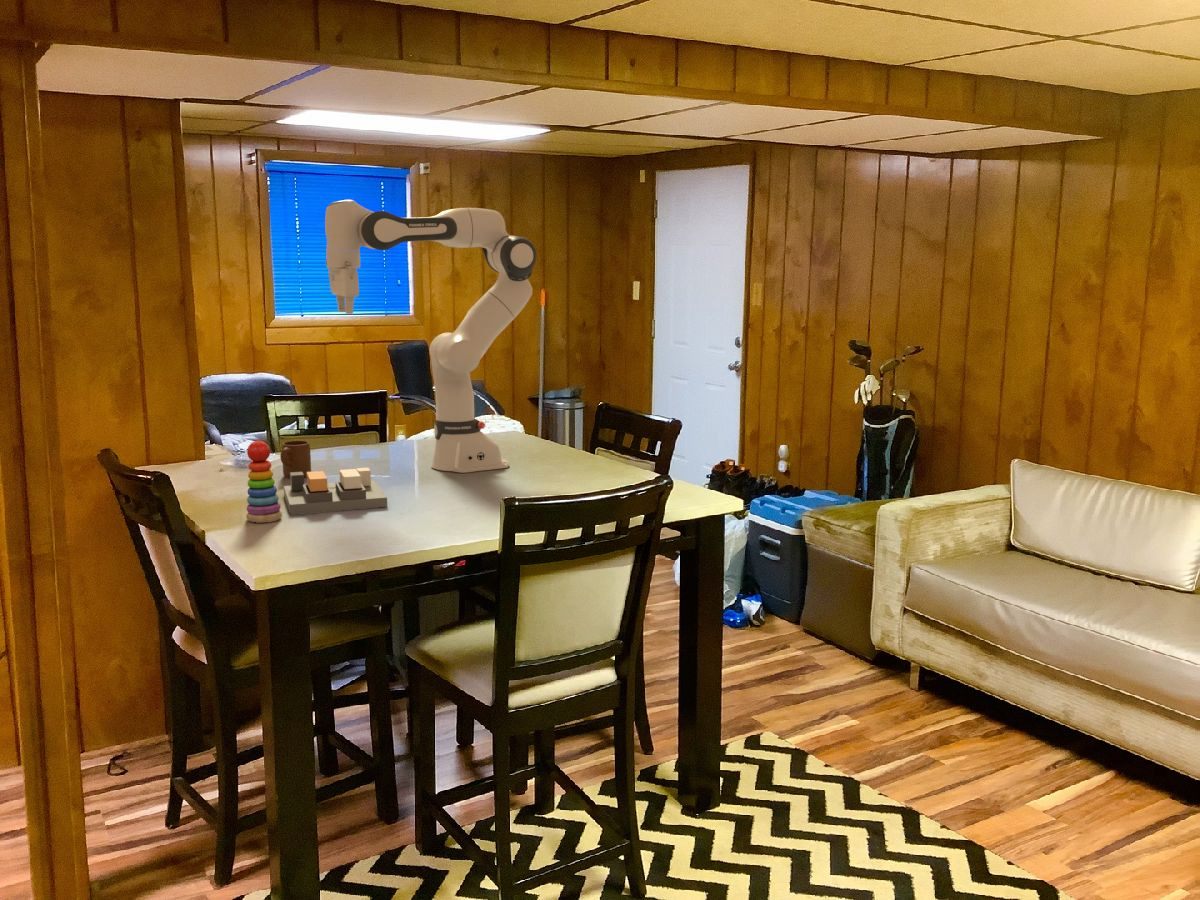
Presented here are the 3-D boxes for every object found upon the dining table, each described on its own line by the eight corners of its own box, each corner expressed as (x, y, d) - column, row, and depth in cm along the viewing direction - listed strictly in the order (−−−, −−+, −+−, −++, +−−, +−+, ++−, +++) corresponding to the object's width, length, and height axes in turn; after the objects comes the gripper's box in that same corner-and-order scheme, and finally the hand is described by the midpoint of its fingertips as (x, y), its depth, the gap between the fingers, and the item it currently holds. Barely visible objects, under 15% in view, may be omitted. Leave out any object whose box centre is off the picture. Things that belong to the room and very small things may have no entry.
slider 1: (303, 486, 259) (302, 471, 258) (304, 490, 255) (303, 474, 254) (290, 487, 257) (290, 472, 257) (292, 491, 254) (291, 475, 253)
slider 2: (368, 482, 264) (368, 467, 264) (370, 485, 261) (370, 470, 260) (356, 483, 263) (356, 468, 263) (359, 486, 260) (358, 471, 259)
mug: (296, 482, 276) (294, 448, 274) (270, 481, 277) (268, 447, 275) (316, 473, 287) (314, 441, 286) (291, 472, 289) (289, 440, 287)
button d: (356, 480, 257) (355, 468, 256) (361, 488, 248) (360, 476, 248) (339, 481, 255) (339, 469, 255) (344, 489, 247) (343, 477, 246)
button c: (323, 482, 254) (323, 470, 253) (327, 490, 246) (327, 478, 245) (307, 483, 252) (306, 471, 252) (310, 491, 244) (309, 479, 244)
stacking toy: (274, 513, 243) (270, 436, 239) (287, 520, 237) (283, 441, 233) (241, 518, 238) (237, 440, 235) (253, 525, 232) (249, 445, 228)
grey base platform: (374, 489, 269) (373, 471, 268) (387, 507, 250) (386, 488, 249) (284, 495, 261) (283, 477, 260) (290, 514, 242) (289, 495, 241)
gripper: (363, 261, 267) (365, 314, 270) (347, 261, 285) (349, 310, 288) (339, 261, 264) (341, 315, 267) (324, 260, 282) (326, 310, 285)
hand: (345, 312), depth 277 cm, fingers open, 8 cm apart
